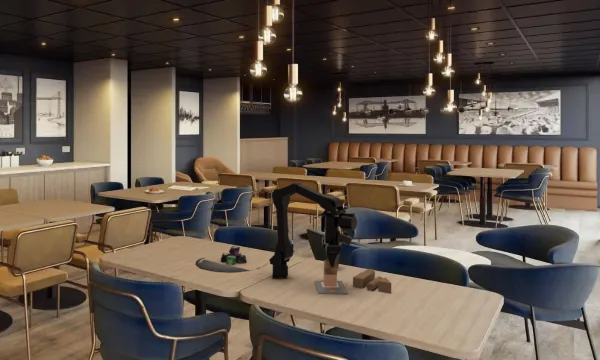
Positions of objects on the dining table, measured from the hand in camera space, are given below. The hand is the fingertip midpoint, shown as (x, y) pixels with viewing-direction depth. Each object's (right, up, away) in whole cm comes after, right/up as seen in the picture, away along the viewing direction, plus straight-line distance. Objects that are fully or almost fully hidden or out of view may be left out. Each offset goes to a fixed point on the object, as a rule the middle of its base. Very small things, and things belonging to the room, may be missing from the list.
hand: (330, 263), depth 213 cm
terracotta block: (0, -9, +1) cm, 9 cm away
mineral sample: (-47, -6, +36) cm, 59 cm away
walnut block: (0, -4, +1) cm, 4 cm away
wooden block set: (+20, -10, +4) cm, 23 cm away
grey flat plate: (0, -10, -1) cm, 10 cm away
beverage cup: (+3, -7, +29) cm, 30 cm away
